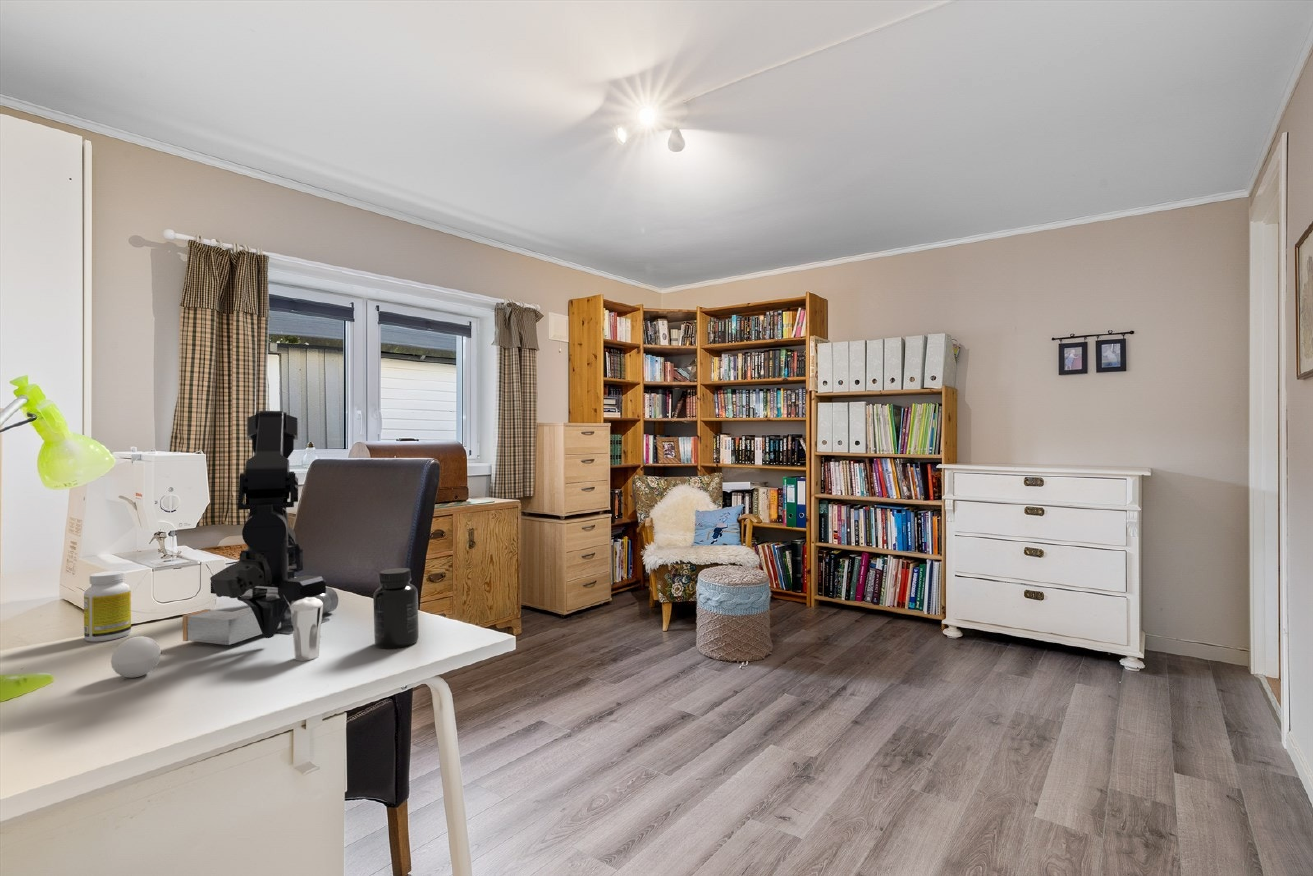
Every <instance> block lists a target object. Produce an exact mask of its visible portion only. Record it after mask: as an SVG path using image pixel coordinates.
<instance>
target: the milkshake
mask: <svg viewBox="0 0 1313 876" xmlns="http://www.w3.org/2000/svg"><path fill="white" fill-rule="evenodd" d="M284 597H285V595H284ZM285 599H286V601H287V603H288V605H289V607H290V614H291V622H292V631H293V633H292V638H293V651H294V659H295V660H296V662H297V661H299V662H305V661H311V660H315V659H316V658H318V657H319V656H320V644H321V629H322V623H321V620H322V618H323V615H322V611H323V602H322V601H321V600H320V599H317V598H315V597H306V598H304V599H301V600H297V601H295V602H294V603H292V604H291V606H290V604H289V602H288V600H287V598H286V597H285Z"/></svg>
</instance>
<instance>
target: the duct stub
mask: <svg viewBox="0 0 1313 876" xmlns="http://www.w3.org/2000/svg"><path fill="white" fill-rule="evenodd" d="M338 596H339V595H338V593H337V592H336V589H334V588H332V587H327V586H326V593H324V594H320V595H317V596H313V597H315V598H317V599H320V600H321V601H322V602H323V611H322V616H323V615H325V614H328V613H331V612H334V611H335V610H337V607H338V605H339V597H338ZM294 602H295V601H292V602H291V604H292V603H294ZM291 604H290V606H291ZM330 620H331V619H330V618H328V617H326V618H325V617H322V620H321V624H323V623H325V622H328V621H330ZM275 634H285V635H293V631H292V622H291V614H290V607H288V609H287V610H286V612H285V614H284V616H283V618H282V620H281V628H278V629H277V630H276V632H275Z"/></svg>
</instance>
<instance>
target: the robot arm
mask: <svg viewBox="0 0 1313 876" xmlns="http://www.w3.org/2000/svg"><path fill="white" fill-rule="evenodd" d="M298 426H299V422H298V417H295V416H292V415H289V414H288V413H287V412H286V411H285V412H284V411H283V410H260V411H256V412H255V414H254V415H251V416H248V417H247V419H246V437H247V440H249V441H251V442H252V444H251V445H252V452H253V453H254V455H253V456H252V457H250V458H248V459H247V460H246V461H245V466H244V472H240V473H239V482H238V495H237V496H238V497H237V499H238V500H237V510H238V511H242V510H249V513H248V514H247V517H246V519H247V520H246V521H245V523H244V525H243V528H242V530H241V535H242V539H243V541H244V543H245V545H246V546H247V549H242V550H240V553H239V554H238V555H239V558H238V562H235V563H234V564H230V565H228V566H227V567H225V568H223V569H222V570H220V571H218V572H217V573H215V574H213V575H211V577H210V578H209V581H210V594H214V595H216V597H218V598H221V597H227V598H230V599H236V600H238V601H239V602H243V603H244V604H246V605H248V606H249V607H251V609H252V611H253V613H254V615H255V617H256V619H257V622H258V624H259V627H260V629H261V631H262V634H261V635H263V638H264V639H271V638H274V636H275V634H276V633H275V632H276V630H277V628H278V626H279V624H280V622H281V620H282V618H283V616H284V614H285V612H286V610H287V609H288V607H289V605H288V603H287V601H286V599H285V597H286V598H287V600H288V602H289V604H291V602H292V601H297V600H301V599H304V598H306V597H313V596H317V595H320V594H324V593H326V587H327V580H326V579H325V578H324V577H323V576H320V575H308V574H307V575H306V574H305V575H301V576H297V577H295V576H296V575H295V574H296V573H300V572H301V571H304V553H303V552H304V549H303V548H301V546H300V543H299V542H296V532H295V530H293V528H291V526H290V525H289V512H287V508H294V507H295V503H298V502H299V477H297V476H296V472H295V471H290V459H289V458H290V456H291V455H292V453H293V452H294V449H295V448H294V447H295V441H296V440H299V437H298V435H299V427H298ZM244 500H245V501H244ZM288 500H289V501H288ZM284 595H285V597H284Z"/></svg>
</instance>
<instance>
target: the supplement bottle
mask: <svg viewBox="0 0 1313 876" xmlns="http://www.w3.org/2000/svg"><path fill="white" fill-rule="evenodd" d="M411 572H412V571H411V569H410V568H408V567H407V568H406V567H404V568H403V567H395V568H388V569H383V570H381V571H380V572H379V574H378V575H379V580H378V581H379V583H378V584H379V585H380V586H379V587H378V588H377V589H376V590H375V592H373V596H372V597H373V630H374V631H373V636H374V644H375V646H376V647H377V648H378V649H382V650H383V649H384V650H389V649H390V650H393V649H399V648H405V647H408V646H411V645H413V644H415V643H416V642H417V641H418V640H419V638H420V635H419V634H420V633H419V632H420V631H419V598H418V597H419V595H418V594H419V593H418V588H417V587H416V586H415V585H414V584H412V583H410V582H411V581H412V575H411Z"/></svg>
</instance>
